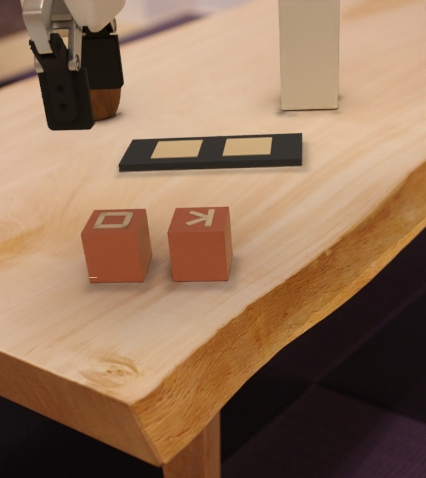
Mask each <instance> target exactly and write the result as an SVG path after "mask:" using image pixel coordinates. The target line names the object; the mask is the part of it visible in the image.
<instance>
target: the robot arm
mask: <svg viewBox="0 0 426 478" xmlns="http://www.w3.org/2000/svg"><path fill="white" fill-rule="evenodd" d="M19 1H20V5H21V16H22V21H23V23H24V26H25V28H26V29H27V30H26V31H27V33H28V36H29V40H28V46H29V47H30V48H29V49H30V50H31V52H32V54H33V66H34V69H35V72H36V73H37V78H38V83H39V88H40V89H39V90H40V93H41V99H42V104H43V109H44V115H45V121H46V126H47V128H48V130H50V131H53V132H58V131H60V132H61V131H89V130H92V128H93V127H94V126H95V124H96V122H95V120H96V119H94V113H93V107H92V100H91V94H90V90H101V89H120V88H121V89H122V88H123V86H124V85H125V80H124V79H125V78H124V71H123V70H124V69H123V62H122V55H121V48H120V47H121V45H120V38H119V34H118V33H117V31H118V24H117V19H116V17H117V16H118V15H119V13H120V12H121V11H122V10H123V9H124V7H125V5H126V1H127V0H19ZM82 35H86V36H82ZM63 38H67V44H66V43H65V42H64V39H63ZM80 67H81V68H80Z"/></svg>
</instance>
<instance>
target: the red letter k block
mask: <svg viewBox="0 0 426 478" xmlns="http://www.w3.org/2000/svg"><path fill="white" fill-rule="evenodd" d="M230 210H231V209H230V206H198V207H197V206H195V207H191V206H190V207H175V209H174V212H173V214H172V217H171V221H170V223H169V226H168V229H167V232H166V233H167V234H166V235H167V241H168V250H169V257H170V258H169V260H170V264H171V265H170V266H171V274H172V281H173V282H211V281H212V282H219V281H220V282H221V281H222V282H223V281H225V282H226V281H228V280H229V278H230V277H229V276H230V272H231V271H230V270H231V266H232V260H233V240H232V239H233V238H232V227H231V226H232V225H231V213H230V212H231V211H230Z"/></svg>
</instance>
